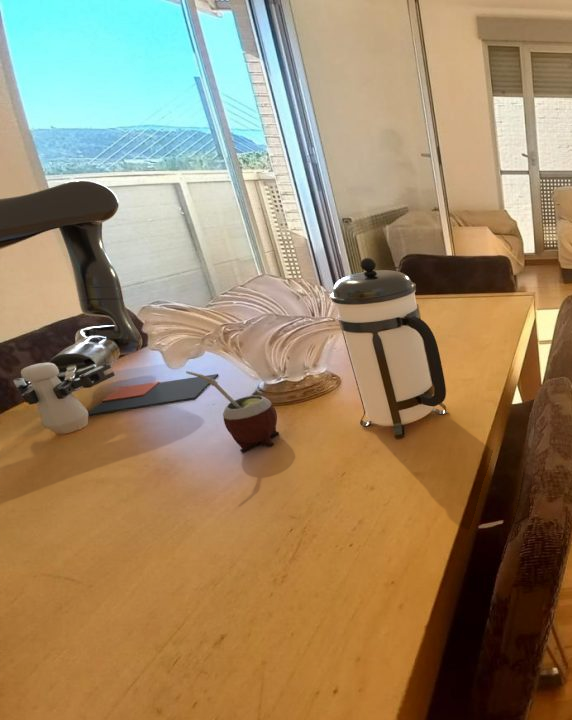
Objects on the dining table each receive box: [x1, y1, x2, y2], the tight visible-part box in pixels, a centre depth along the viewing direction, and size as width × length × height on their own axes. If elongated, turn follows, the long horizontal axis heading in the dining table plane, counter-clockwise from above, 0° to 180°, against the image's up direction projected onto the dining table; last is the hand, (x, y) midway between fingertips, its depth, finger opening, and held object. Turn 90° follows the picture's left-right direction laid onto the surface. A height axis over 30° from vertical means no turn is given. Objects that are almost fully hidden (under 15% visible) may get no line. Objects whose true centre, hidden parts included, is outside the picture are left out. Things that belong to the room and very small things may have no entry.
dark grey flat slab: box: [88, 373, 219, 417], centre depth 102 cm, size 18×13×1 cm
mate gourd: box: [185, 370, 280, 454], centre depth 79 cm, size 8×8×15 cm
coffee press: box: [330, 257, 447, 439], centre depth 82 cm, size 17×16×30 cm
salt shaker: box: [20, 362, 89, 435], centre depth 86 cm, size 6×6×13 cm
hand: (44, 396), depth 84 cm, fingers closed on salt shaker, 3 cm apart
